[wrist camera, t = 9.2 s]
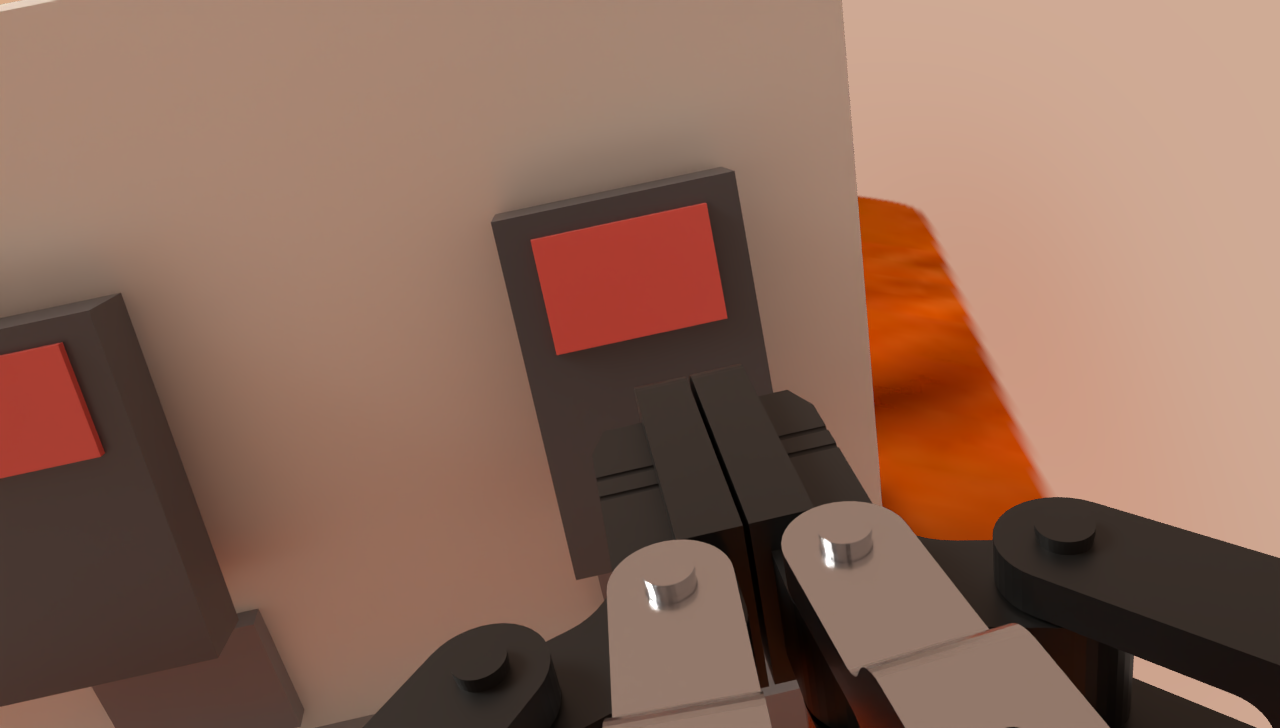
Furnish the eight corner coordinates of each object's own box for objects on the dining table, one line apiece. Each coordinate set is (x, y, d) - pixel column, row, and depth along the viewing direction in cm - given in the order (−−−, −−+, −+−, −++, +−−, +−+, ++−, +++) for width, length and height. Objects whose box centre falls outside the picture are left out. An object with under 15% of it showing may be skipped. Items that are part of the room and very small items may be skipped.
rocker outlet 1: (215, 663, 22) (84, 312, 20) (-15, 714, 22) (-175, 367, 20) (238, 619, 24) (121, 292, 21) (25, 667, 24) (-118, 342, 21)
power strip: (943, 697, 27) (900, -163, 18) (0, 915, 26) (-578, 135, 17) (832, 489, 36) (763, -156, 26) (125, 646, 35) (-206, 38, 26)
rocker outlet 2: (799, 534, 22) (736, 171, 20) (576, 584, 22) (489, 223, 20) (781, 503, 24) (721, 166, 22) (574, 549, 24) (494, 214, 22)
